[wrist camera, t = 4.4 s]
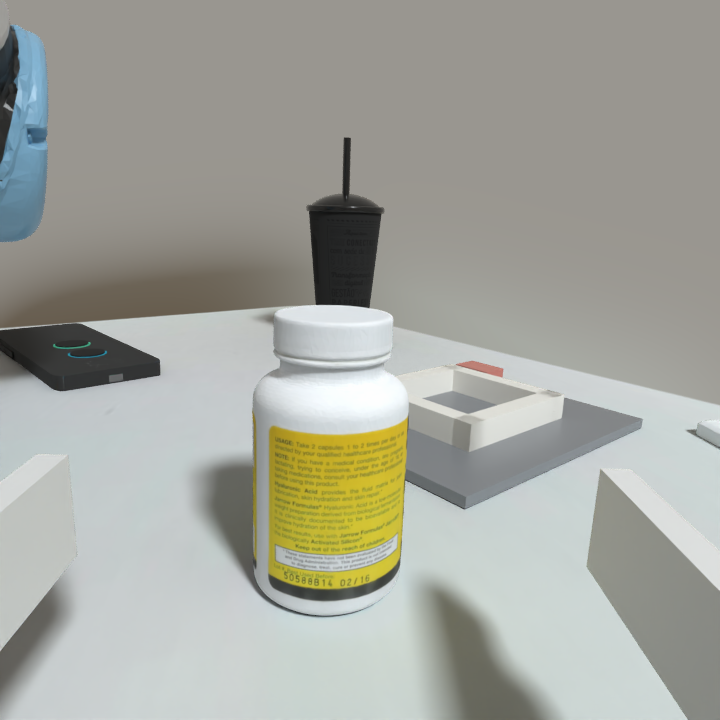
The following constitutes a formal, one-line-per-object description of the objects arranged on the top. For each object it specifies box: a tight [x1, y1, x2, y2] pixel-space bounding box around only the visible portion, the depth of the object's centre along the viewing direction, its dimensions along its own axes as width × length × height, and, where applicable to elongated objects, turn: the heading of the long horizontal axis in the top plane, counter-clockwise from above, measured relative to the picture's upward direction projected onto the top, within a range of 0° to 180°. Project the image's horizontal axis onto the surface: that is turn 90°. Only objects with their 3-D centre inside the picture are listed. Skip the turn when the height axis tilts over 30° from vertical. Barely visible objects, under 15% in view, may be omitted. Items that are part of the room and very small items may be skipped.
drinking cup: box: [306, 138, 384, 308], centre depth 59 cm, size 8×8×20 cm
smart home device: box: [0, 323, 160, 391], centre depth 52 cm, size 8×2×20 cm
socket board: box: [395, 361, 643, 509], centre depth 38 cm, size 16×18×2 cm
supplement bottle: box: [252, 305, 409, 616], centre depth 21 cm, size 5×5×10 cm
